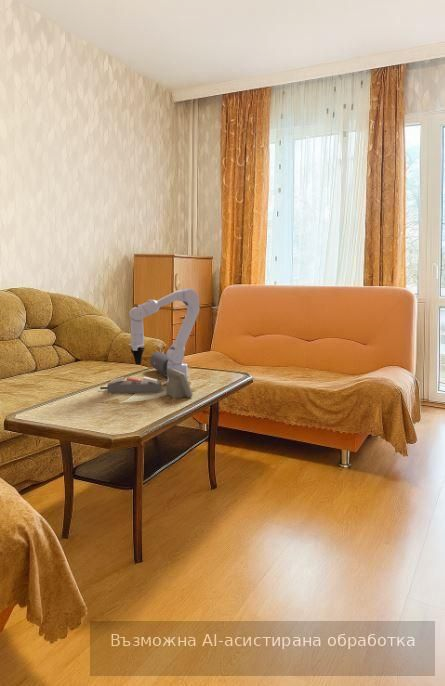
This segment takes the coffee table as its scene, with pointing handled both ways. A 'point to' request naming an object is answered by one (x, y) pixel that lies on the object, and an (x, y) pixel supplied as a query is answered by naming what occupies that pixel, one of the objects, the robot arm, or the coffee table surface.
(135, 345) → the robot arm
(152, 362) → the bluetooth speaker
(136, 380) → the plate
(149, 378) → the block
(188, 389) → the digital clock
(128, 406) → the coffee table surface
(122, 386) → the power strip
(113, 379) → the rocker
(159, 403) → the coffee table surface
